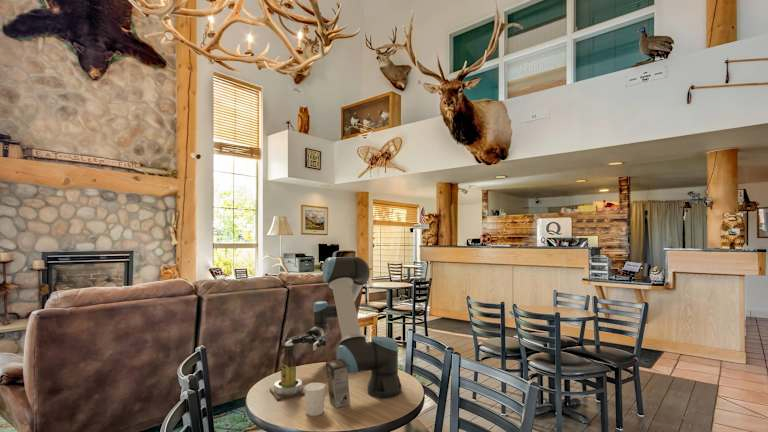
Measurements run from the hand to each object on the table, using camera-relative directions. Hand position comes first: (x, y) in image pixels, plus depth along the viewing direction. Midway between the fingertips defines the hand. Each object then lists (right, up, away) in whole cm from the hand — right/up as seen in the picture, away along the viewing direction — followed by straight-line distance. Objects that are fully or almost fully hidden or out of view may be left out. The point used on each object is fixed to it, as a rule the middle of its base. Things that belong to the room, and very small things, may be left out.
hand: (299, 346), depth 192 cm
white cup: (+12, -16, -32) cm, 37 cm away
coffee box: (+21, -16, -23) cm, 35 cm away
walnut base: (-2, -16, -12) cm, 20 cm away
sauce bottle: (-2, -15, -12) cm, 20 cm away
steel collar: (-2, -16, -12) cm, 20 cm away
